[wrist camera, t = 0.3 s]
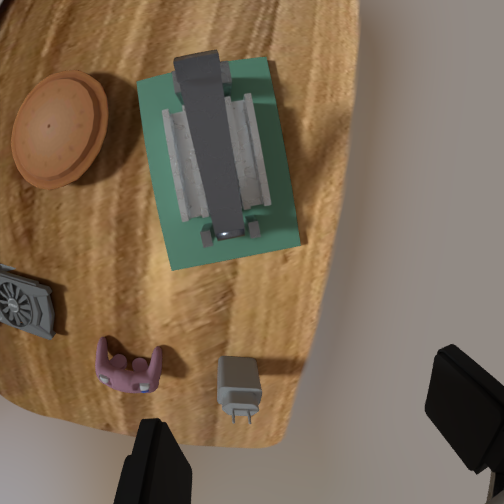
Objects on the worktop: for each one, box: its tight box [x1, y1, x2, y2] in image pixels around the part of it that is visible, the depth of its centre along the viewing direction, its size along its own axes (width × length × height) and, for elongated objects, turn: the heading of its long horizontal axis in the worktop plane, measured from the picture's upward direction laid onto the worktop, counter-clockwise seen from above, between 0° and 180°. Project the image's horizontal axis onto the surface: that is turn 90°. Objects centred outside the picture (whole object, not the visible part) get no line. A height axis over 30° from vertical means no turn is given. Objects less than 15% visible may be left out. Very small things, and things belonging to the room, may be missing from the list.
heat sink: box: [162, 61, 271, 248], centre depth 31 cm, size 18×10×6 cm, turn 10°
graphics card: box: [0, 264, 56, 340], centre depth 35 cm, size 17×4×12 cm
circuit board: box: [137, 57, 301, 271], centre depth 34 cm, size 24×16×1 cm, turn 10°
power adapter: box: [217, 356, 262, 424], centre depth 36 cm, size 3×5×12 cm, turn 82°
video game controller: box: [95, 337, 162, 393], centre depth 37 cm, size 10×5×7 cm, turn 82°
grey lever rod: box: [173, 50, 245, 241], centre depth 24 cm, size 19×3×2 cm
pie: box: [11, 70, 109, 190], centre depth 29 cm, size 15×16×5 cm
